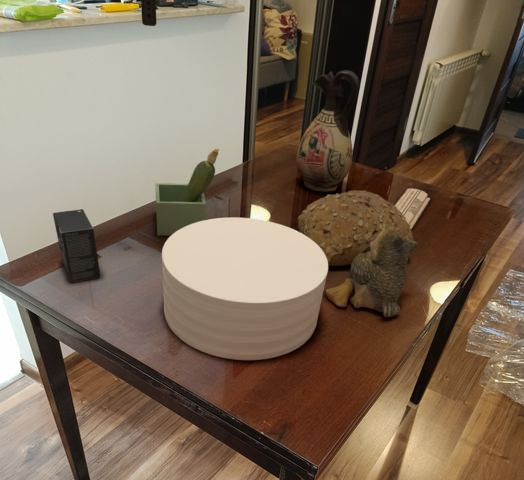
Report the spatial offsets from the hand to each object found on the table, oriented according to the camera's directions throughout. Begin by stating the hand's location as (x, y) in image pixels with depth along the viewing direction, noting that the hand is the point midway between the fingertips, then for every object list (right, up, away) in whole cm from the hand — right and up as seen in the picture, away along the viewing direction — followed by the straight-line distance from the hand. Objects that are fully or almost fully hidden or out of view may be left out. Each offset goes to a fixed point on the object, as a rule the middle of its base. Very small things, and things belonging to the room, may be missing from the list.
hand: (149, 21), depth 79 cm
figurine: (+39, -44, +17) cm, 61 cm away
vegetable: (-2, -24, +32) cm, 40 cm away
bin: (-1, -25, +33) cm, 41 cm away
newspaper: (+58, -16, +53) cm, 80 cm away
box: (-17, -39, +15) cm, 44 cm away
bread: (+38, -30, +33) cm, 59 cm away
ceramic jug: (+35, -8, +59) cm, 69 cm away
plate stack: (+15, -47, +10) cm, 50 cm away
